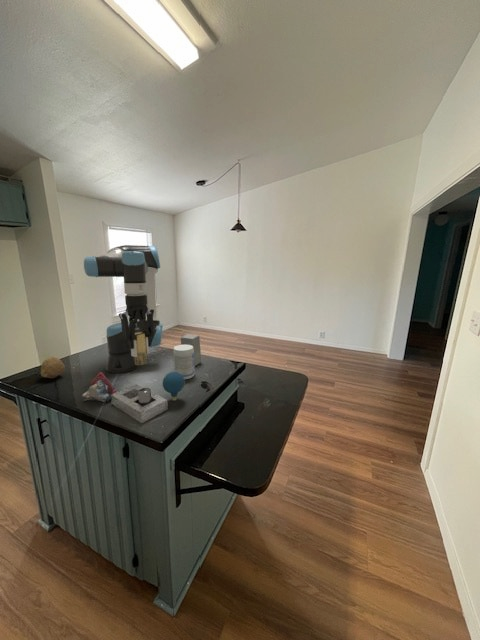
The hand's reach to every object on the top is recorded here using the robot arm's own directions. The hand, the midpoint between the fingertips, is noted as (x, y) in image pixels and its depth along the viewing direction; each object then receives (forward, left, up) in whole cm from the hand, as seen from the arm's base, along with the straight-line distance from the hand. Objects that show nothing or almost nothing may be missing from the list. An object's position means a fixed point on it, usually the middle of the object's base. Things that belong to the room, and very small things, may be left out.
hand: (140, 354), depth 99 cm
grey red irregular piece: (-13, -10, -19) cm, 25 cm away
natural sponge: (-49, -14, -19) cm, 54 cm away
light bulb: (+11, +7, -19) cm, 23 cm away
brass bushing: (0, 0, -4) cm, 4 cm away
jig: (+4, -4, -19) cm, 20 cm away
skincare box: (-12, +38, -19) cm, 44 cm away
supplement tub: (-3, +25, -19) cm, 31 cm away
